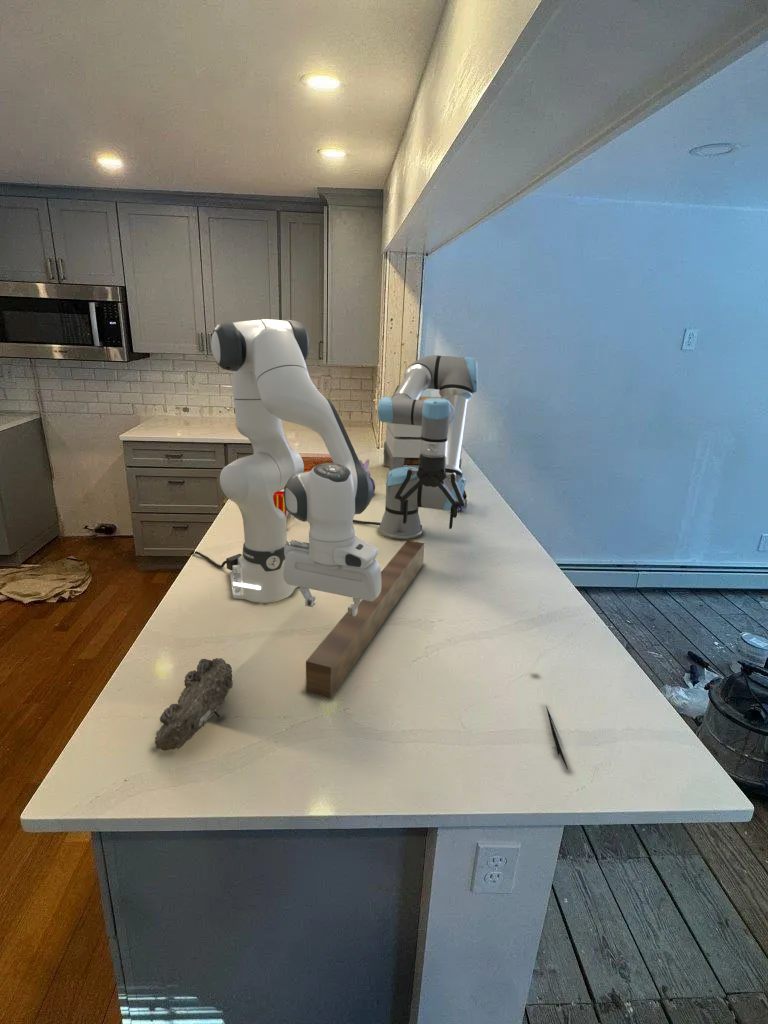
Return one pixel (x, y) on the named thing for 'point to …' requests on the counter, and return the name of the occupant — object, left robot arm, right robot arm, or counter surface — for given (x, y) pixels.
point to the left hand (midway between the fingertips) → (331, 609)
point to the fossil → (195, 703)
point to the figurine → (368, 472)
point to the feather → (556, 737)
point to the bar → (361, 624)
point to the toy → (280, 501)
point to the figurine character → (465, 501)
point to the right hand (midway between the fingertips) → (427, 524)
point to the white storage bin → (404, 444)
